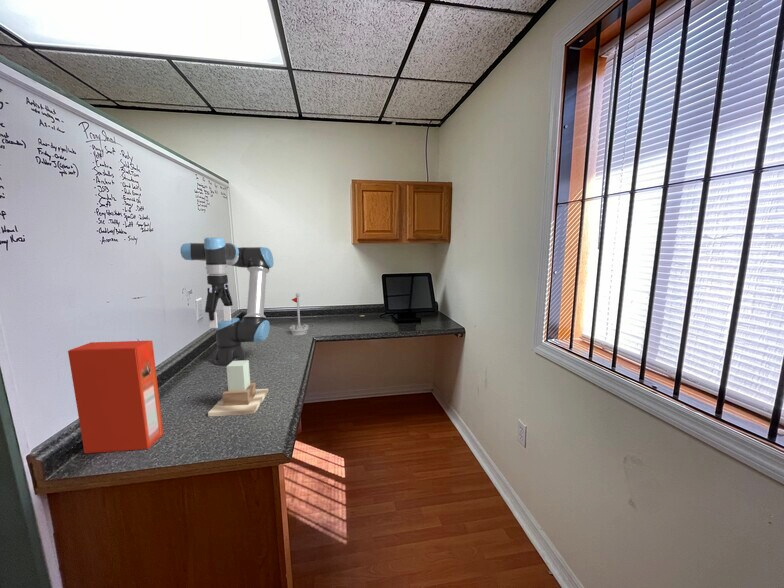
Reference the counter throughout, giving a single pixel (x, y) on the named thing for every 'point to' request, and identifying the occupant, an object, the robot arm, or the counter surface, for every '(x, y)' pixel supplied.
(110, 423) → the file binder
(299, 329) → the flag stand
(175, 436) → the counter surface
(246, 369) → the sage pillar
